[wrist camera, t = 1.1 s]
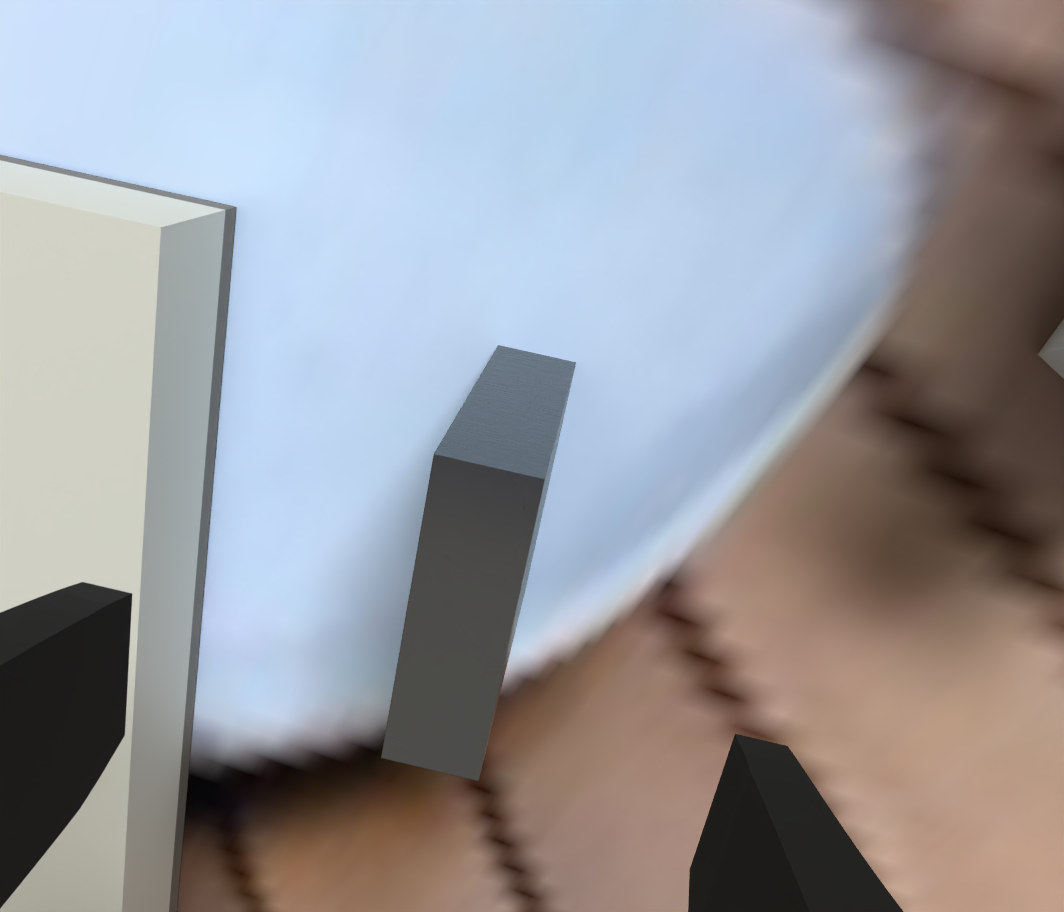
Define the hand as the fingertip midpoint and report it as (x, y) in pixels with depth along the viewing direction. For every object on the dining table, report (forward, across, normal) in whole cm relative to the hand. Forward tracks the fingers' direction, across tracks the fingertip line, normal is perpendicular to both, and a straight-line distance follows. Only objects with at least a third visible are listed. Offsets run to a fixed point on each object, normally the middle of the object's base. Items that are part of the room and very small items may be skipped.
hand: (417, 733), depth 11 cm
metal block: (+8, 0, 0) cm, 9 cm away
